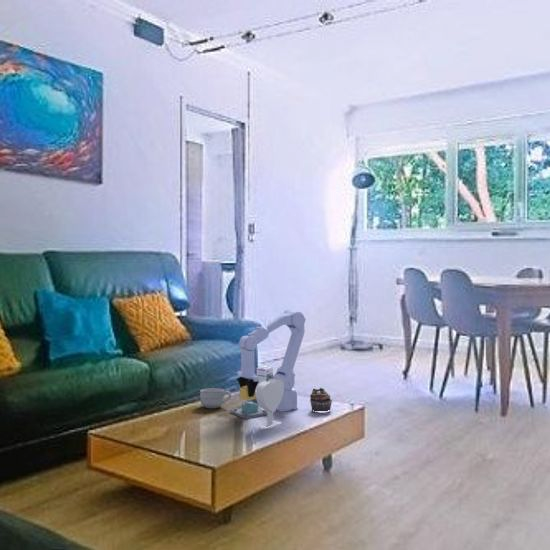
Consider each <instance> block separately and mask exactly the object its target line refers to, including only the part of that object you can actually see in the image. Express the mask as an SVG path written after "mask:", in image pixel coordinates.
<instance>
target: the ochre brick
mask: <svg viewBox="0 0 550 550" xmlns="http://www.w3.org/2000/svg"><path fill="white" fill-rule="evenodd" d="M239 399H240V400H243V401H246V402H247V401H252V400H257V399H256V389H255V393H254V396H253V397H249V395H248V387H247V386H242V387H240V386H239Z"/></svg>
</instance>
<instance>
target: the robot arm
mask: <svg viewBox="0 0 550 550" xmlns="http://www.w3.org/2000/svg"><path fill="white" fill-rule="evenodd" d="M305 323H306V317H305V316H304V314H303V313H302V312H301V311H293V310H289V309H288V310H284V311H283V312H281V313H280V314H279V316H277V317H276V318H274V319H273V320H272V321H271V322H269V323H268V324H267V325H265V326H264V325H263V326H257V327H256V328H255V330H253V331H252V332H249V333H247V335H243V336H241V338H240V339H239V342H237V343H238V346H239V348H240V371H237V373H236V376H237V378H236V381H237V382H238V384H239V388H240V387H242V386H247V387H248V395H249V397H253V396H254V393H255V389H256V388H257V384H258V383H259V377H258V376H257V374H256V373H255V350H256V348H257V346H258V345H259V344H260V343H262V342H263V341H265V340H266V339H267V338H268V337H269V335H270V333H272V332H273V331H275V330H277V329H278V328H280V327H282V326H287V327H288V329H289V330H290V332H291V335H290V337H289V339H288V340H289V341H288V344H287V346H286V347H287V348H286V351H285V354H284V356H283V360H282V362H281V366H279V367H278V368H277V370H276V372H275V373H274V374H273V378H272V379H276V380H282V381H283V382H284V393H283V397H282V400H281V402H280V404H279V406H278V407H277V410H276V411H278V410H279V411H278V412H281V411H282V412H285V411H284V410H288V411H291V410H290V409H294V410H297V409H296V408H298V393H297V390H296V389H295V388H294V386H295V377H296V373H295V371H294V368H295V365H296V361H297V358H298V355H299V352H300V349H301V346H302V341H303V338H304V335H305Z"/></svg>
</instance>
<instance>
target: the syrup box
mask: <svg viewBox="0 0 550 550" xmlns="http://www.w3.org/2000/svg"><path fill="white" fill-rule="evenodd" d="M256 376H258V377H259V383H258V384H257V386H258V385H259V384H260V383H261V382H263V381H267V382H268V380H269V379H272V378H273V376H274V367H273V366H270V365H264V366H263V365H262V366H259V367H256ZM257 386H256V387H257Z"/></svg>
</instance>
